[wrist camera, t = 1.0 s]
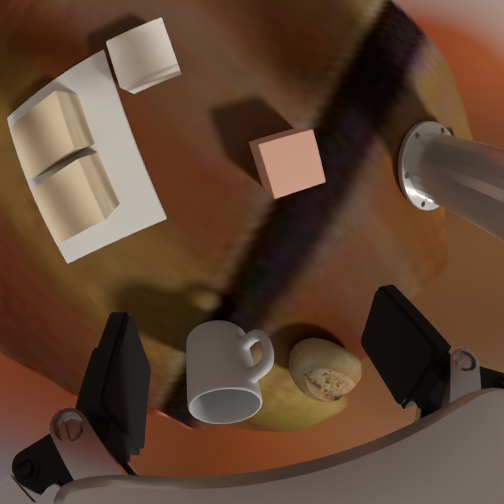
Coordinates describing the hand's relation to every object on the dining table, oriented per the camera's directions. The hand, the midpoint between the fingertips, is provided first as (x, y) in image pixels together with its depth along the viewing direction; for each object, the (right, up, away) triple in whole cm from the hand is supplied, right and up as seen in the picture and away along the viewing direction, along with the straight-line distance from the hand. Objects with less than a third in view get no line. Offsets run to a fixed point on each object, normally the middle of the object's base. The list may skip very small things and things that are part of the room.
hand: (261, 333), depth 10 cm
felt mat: (-19, +12, +13) cm, 26 cm away
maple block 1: (-20, +15, +11) cm, 27 cm away
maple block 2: (-18, +9, +14) cm, 25 cm away
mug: (-4, -8, +26) cm, 28 cm away
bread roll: (+11, -14, +32) cm, 37 cm away
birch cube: (-10, +21, +10) cm, 26 cm away
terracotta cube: (+2, +13, +17) cm, 22 cm away
